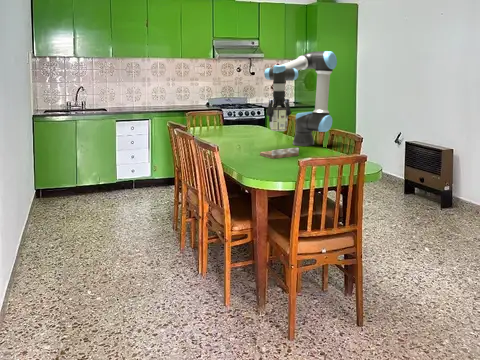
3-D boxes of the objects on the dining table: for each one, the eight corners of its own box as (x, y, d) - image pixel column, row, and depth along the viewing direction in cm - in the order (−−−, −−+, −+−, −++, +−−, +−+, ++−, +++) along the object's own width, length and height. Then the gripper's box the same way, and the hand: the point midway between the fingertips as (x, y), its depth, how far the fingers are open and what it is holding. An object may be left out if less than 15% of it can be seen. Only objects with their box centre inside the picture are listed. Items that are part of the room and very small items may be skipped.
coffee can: (276, 128, 323) (276, 106, 320) (289, 130, 317) (290, 107, 314) (267, 130, 315) (267, 107, 312) (280, 131, 309) (280, 108, 306)
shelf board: (285, 152, 330) (285, 144, 329) (298, 155, 318) (299, 147, 317) (260, 155, 320) (260, 147, 318) (273, 158, 308) (273, 150, 307)
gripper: (290, 89, 319) (289, 124, 324) (260, 90, 308) (260, 127, 313) (297, 90, 313) (296, 126, 318) (267, 91, 302) (267, 128, 307)
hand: (278, 126), depth 315 cm, fingers closed on coffee can, 10 cm apart
